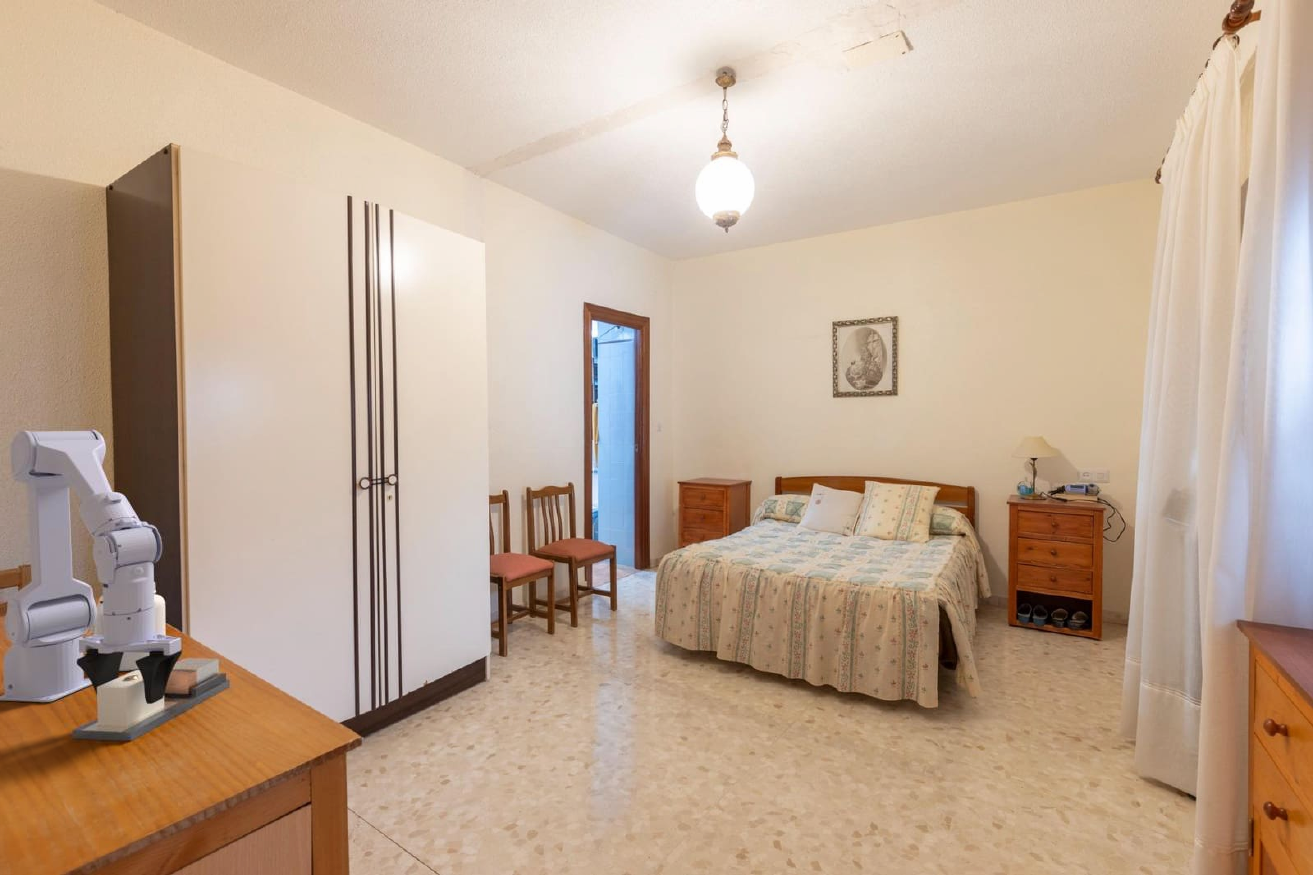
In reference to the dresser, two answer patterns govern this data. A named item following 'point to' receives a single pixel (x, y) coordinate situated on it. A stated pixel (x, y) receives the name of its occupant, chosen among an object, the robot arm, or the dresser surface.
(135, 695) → the block
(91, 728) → the base plate
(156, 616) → the pill bottle
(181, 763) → the dresser surface
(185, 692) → the block
